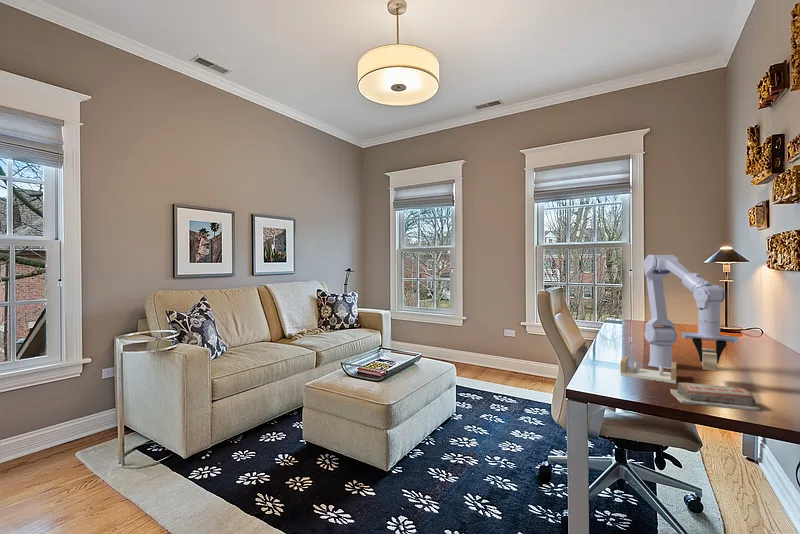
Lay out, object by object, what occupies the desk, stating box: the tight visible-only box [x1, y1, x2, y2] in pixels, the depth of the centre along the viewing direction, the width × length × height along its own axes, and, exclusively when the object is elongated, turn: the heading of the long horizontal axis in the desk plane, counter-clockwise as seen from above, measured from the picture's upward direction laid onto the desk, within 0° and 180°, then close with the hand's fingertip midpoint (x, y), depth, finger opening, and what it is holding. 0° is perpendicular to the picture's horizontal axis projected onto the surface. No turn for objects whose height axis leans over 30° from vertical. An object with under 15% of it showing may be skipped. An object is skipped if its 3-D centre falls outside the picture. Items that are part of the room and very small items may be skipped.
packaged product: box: [670, 382, 761, 412], centre depth 110 cm, size 18×5×10 cm
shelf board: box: [701, 347, 718, 372], centre depth 127 cm, size 11×4×5 cm, turn 144°
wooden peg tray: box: [620, 355, 677, 384], centre depth 137 cm, size 11×16×5 cm
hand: (708, 362), depth 127 cm, fingers closed on shelf board, 3 cm apart
